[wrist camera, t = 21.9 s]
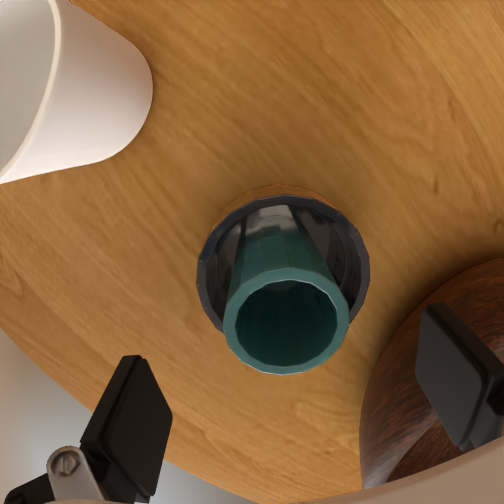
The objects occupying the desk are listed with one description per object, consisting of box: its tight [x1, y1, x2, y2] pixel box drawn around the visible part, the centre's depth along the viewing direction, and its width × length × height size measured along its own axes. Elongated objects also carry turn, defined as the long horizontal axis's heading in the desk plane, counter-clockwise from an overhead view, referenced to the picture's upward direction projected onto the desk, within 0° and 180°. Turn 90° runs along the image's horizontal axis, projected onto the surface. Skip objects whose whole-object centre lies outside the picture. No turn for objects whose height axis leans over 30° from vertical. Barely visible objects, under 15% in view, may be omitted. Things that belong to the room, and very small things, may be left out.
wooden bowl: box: [359, 258, 504, 489], centre depth 19 cm, size 25×25×10 cm
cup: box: [223, 218, 349, 375], centre depth 16 cm, size 5×5×8 cm
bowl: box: [196, 184, 370, 335], centre depth 18 cm, size 9×9×4 cm
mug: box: [0, 0, 153, 184], centre depth 12 cm, size 9×12×11 cm
